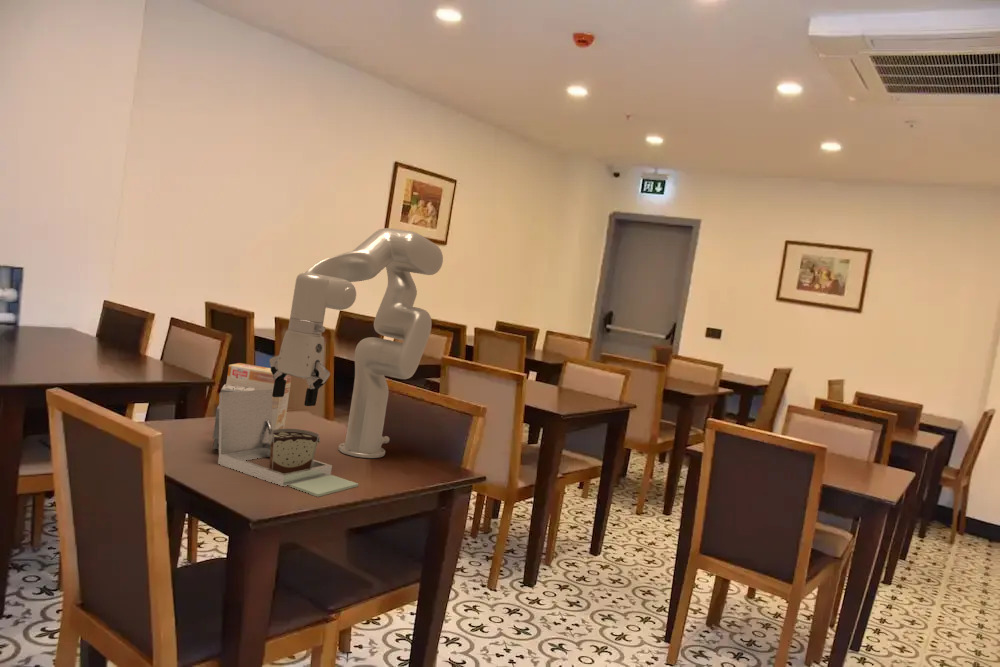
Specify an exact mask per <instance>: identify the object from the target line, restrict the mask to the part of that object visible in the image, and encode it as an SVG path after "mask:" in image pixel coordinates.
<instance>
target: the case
mask: <svg viewBox="0 0 1000 667" xmlns="http://www.w3.org/2000/svg"><path fill="white" fill-rule="evenodd" d="M218 396H219V400H218V402H219V404H218V406H219V450H218V459H217V465H219V464H220V465H219V466H222V467H225V468H228V469H230V468H231V469H230V470H233V469H234V470H233V471H236V470H237V471H236V472H239V471H240V473H242V472H243V473H242V474H245V475H247V476H251V477H253V476H254V478H256V477H257V479H259V480H263V481H265V480H266V482H268V483H271V482H272V483H271V484H274V483H275V484H274V485H276V484H278V485H277V486H279V485H280V486H279V487H282V486H284V487H287V485H288V486H290V484H294V483H299V482H303V481H307V480H312V479H316V478H320V477H325V476H329V475H332V471H333V470H332V469H333V465H332V464H328V463H325V462H324V461H323V462H322V461H319V460H316V459H314V458H313V462H312V466H311V468H309V469H305V470H300V471H295V472H290V473H286V474H284V473H281V472H278V471H275V470H272V469H270V467H269V468H268V467H266V466H263V465H259V464H256V463H253V462H250V461H251V460H252V459H253V460H257V458H258V459H263V457H264V458H270V448H271V444H270V443H269V442H268V439H269V436H270V434H271V433H272V431H273V429H272V389H268V390H253V391H238V392H223V393H221V392H219V395H218ZM246 460H247V461H246Z"/></svg>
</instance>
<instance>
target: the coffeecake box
mask: <svg viewBox="0 0 1000 667" xmlns="http://www.w3.org/2000/svg"><path fill="white" fill-rule="evenodd" d="M227 368H228V370H227V377H226V383H225V384H227V385H236V386H238V387H242V386H244V387H253V388H255V390H268V389H272V394H273V388H274V382H275V380H274V379H273V374H272V372H271V367H265V366H259V365H254V364H248V363H242V362H237V363H232V364H228V367H227ZM292 377H293V376H291V375H287V376H286V377H285V378H284V380H286V386H285V392H284V396H283V397H273V396H272V429H273V430H276V429H285V428H286V425H285V424H286V420H287V419H286V418H287V411H288V405H289V398H290V390H291V383H292Z"/></svg>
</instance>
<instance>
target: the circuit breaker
mask: <svg viewBox="0 0 1000 667" xmlns="http://www.w3.org/2000/svg"><path fill="white" fill-rule="evenodd" d="M253 390H255V388H253V387H244V386H242V387H238V386H236V385H227V384H226V383H224V385H223V386H222V388H221V390H220V393H223V392H238V391H253ZM212 439H213V445H212V449H213V450H215V449H218V450H217V451H219V405H218V406H217V408H216V413H215V419H214V427H213V434H212Z"/></svg>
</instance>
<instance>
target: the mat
mask: <svg viewBox="0 0 1000 667" xmlns="http://www.w3.org/2000/svg"><path fill="white" fill-rule="evenodd" d="M290 487H292V488H291V489H293V488H295V490H296V489H297V491H299V490H300V492H302V491H303V492H302V493H305V492H306V493H305V494H308V493H309V494H308V495H311V496H314V497H316V496H317V497H316V498H318V497H319V498H320V497H323V496H326V495H329V494H335V493H337V492H342V491H346V490H349V489H354V488H356V487H357V488H358V487H359V483H357V482H355V481H352V480H348V479H345V478H342V477H339V476H336V475H333V474H331V475H329V476H325V477H320V478H316V479H312V480H307V481H303V482H299V483H294V484H290V485H289V488H290Z"/></svg>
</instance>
